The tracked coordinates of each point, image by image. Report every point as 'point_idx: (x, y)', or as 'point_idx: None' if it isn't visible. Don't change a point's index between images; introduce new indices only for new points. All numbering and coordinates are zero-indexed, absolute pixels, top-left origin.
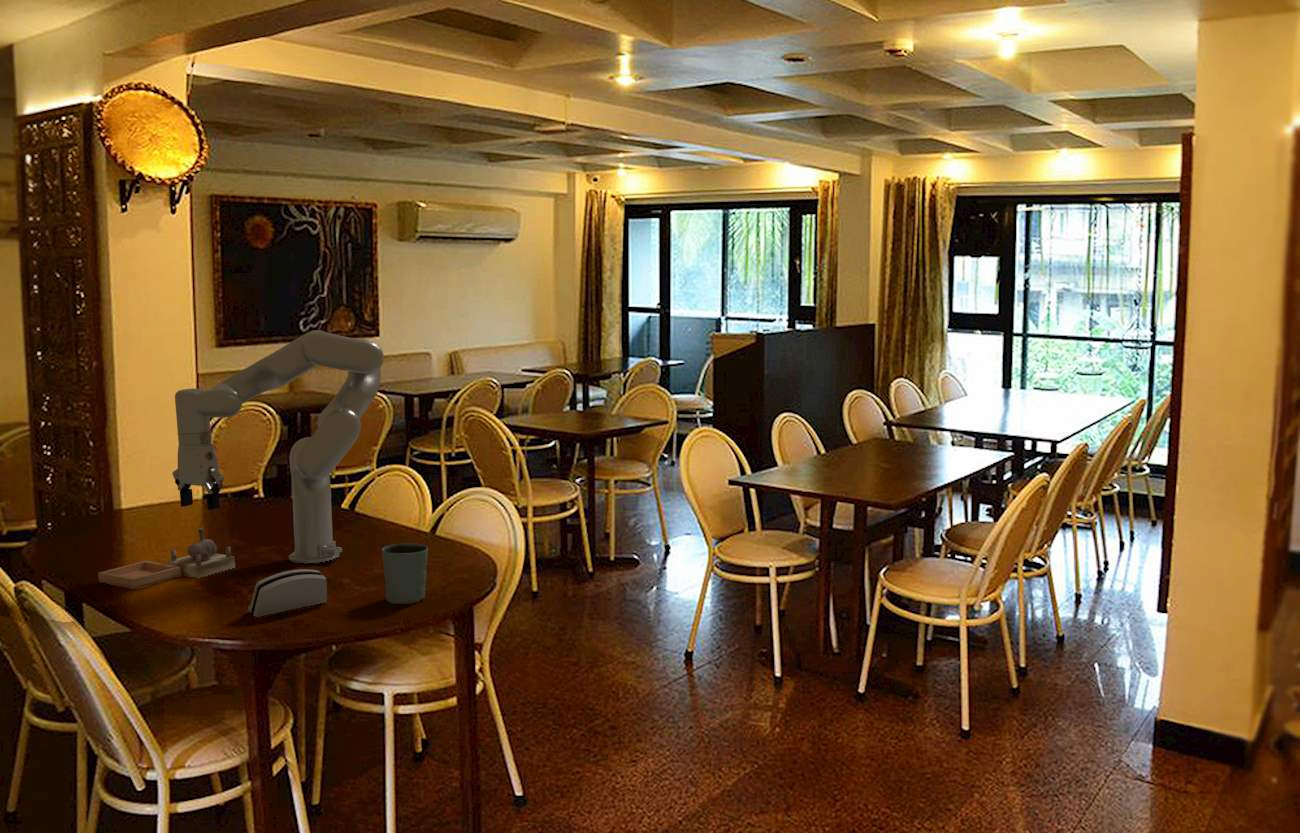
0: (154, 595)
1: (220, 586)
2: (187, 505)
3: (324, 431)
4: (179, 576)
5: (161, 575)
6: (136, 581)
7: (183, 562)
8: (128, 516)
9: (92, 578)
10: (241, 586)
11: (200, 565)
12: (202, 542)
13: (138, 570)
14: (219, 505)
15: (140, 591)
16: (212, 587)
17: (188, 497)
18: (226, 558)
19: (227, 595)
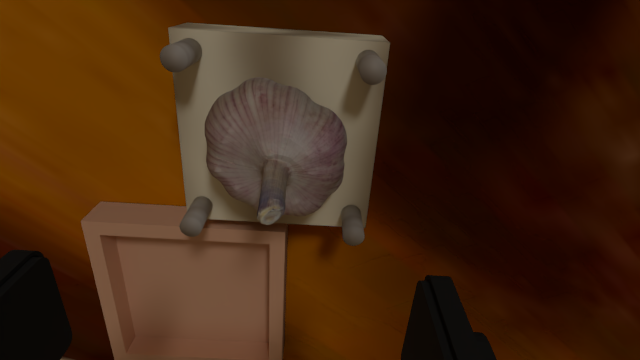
0: (375, 352)
1: (499, 237)
2: (55, 298)
3: None
4: None
5: (284, 290)
6: (282, 357)
7: None
8: None
9: None
10: (570, 212)
11: (362, 214)
12: (297, 184)
13: (117, 244)
14: (453, 288)
15: (308, 344)
16: (480, 253)
17: (3, 357)
18: (380, 89)
19: (580, 289)
